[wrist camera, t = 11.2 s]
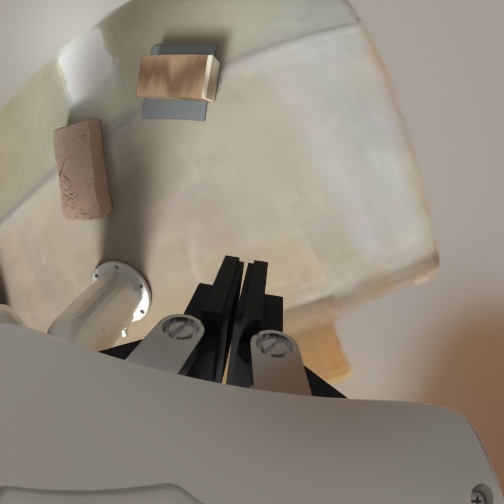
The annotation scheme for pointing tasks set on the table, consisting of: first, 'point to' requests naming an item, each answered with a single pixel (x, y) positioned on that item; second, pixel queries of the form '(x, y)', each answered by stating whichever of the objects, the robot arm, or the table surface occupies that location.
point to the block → (178, 77)
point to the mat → (177, 107)
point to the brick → (82, 171)
